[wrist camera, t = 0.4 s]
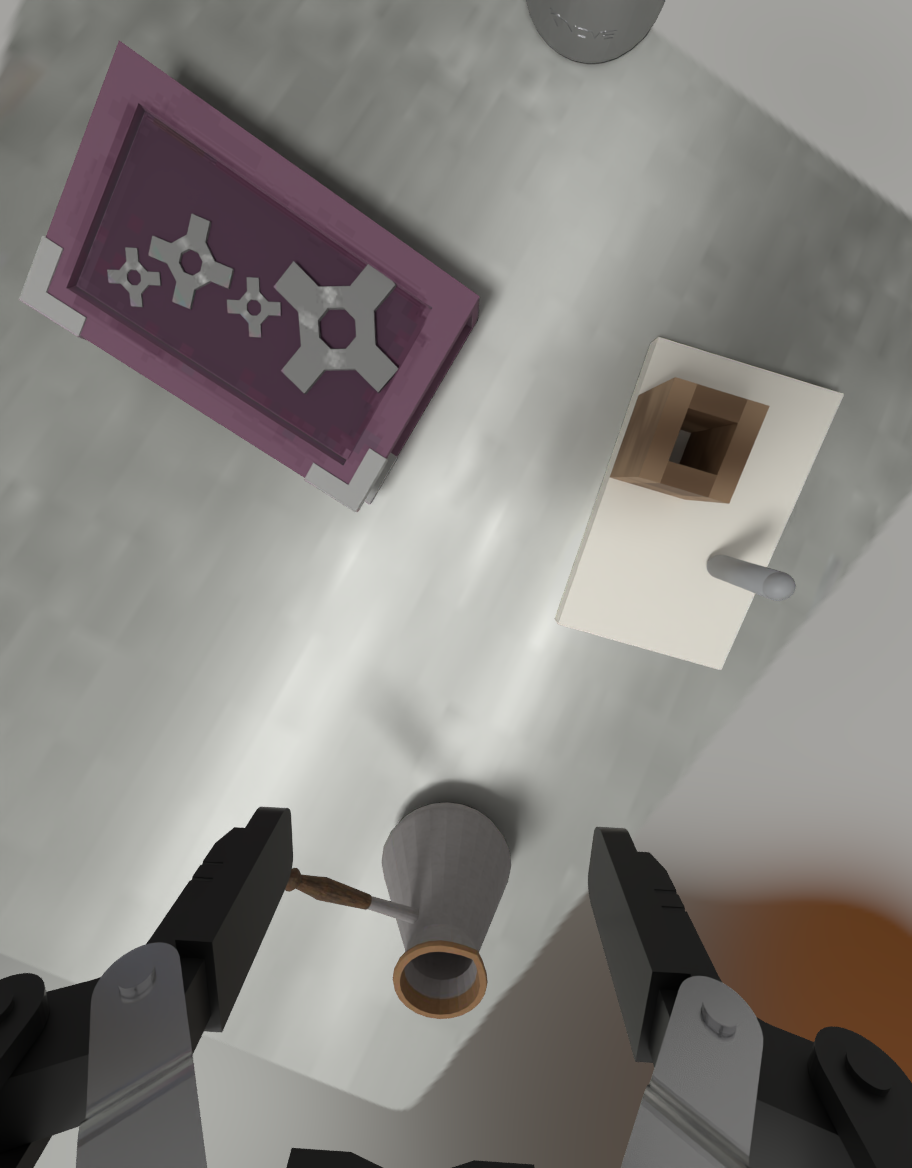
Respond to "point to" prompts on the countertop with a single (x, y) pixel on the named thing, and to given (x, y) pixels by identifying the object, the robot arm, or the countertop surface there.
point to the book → (245, 285)
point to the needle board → (697, 522)
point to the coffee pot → (434, 903)
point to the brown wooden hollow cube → (689, 441)
